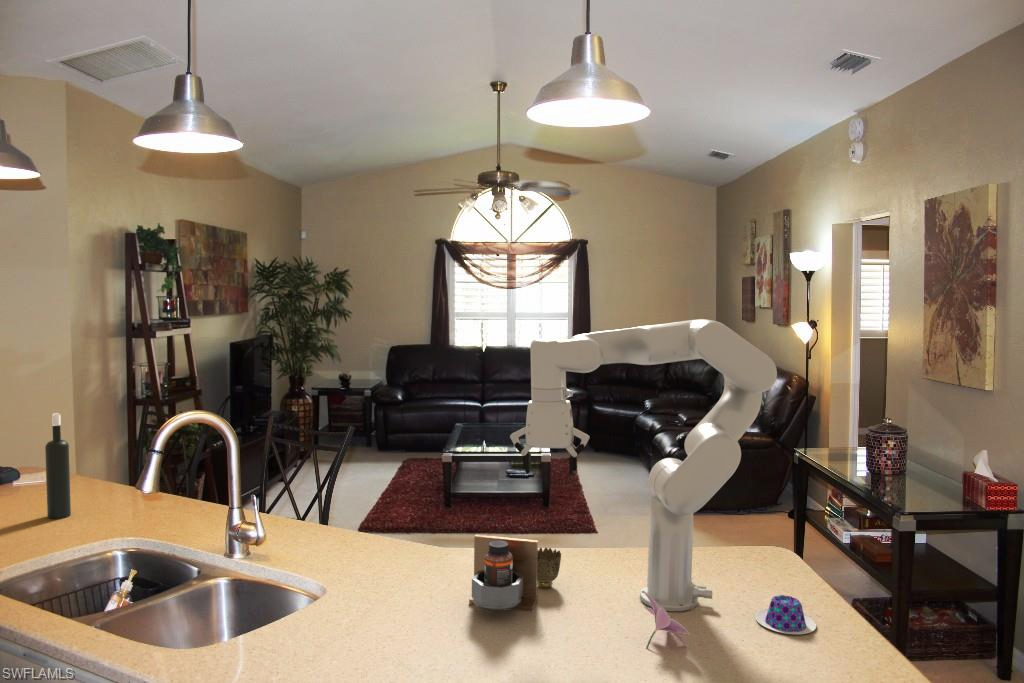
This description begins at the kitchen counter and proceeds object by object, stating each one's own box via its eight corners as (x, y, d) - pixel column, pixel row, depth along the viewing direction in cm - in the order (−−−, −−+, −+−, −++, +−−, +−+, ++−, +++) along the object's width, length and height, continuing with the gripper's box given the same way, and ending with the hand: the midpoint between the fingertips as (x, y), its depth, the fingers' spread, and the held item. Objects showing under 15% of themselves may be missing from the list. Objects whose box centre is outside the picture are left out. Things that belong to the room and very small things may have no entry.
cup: (558, 594, 169) (558, 559, 169) (525, 591, 171) (526, 557, 170) (562, 581, 177) (563, 548, 176) (531, 578, 178) (532, 545, 177)
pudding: (742, 620, 159) (744, 596, 158) (777, 607, 165) (779, 584, 165) (793, 643, 149) (794, 617, 148) (828, 628, 156) (829, 603, 155)
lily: (689, 670, 139) (707, 619, 142) (631, 642, 140) (650, 593, 142) (672, 658, 151) (689, 612, 153) (618, 633, 152) (636, 587, 154)
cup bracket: (537, 600, 166) (539, 538, 165) (524, 628, 152) (525, 561, 151) (476, 593, 169) (477, 532, 168) (458, 620, 155) (458, 554, 154)
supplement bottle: (518, 595, 159) (519, 543, 158) (498, 604, 154) (499, 550, 153) (497, 587, 163) (498, 536, 162) (478, 595, 158) (478, 543, 157)
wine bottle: (42, 518, 216) (39, 414, 213) (58, 512, 221) (54, 411, 219) (60, 519, 215) (57, 415, 212) (75, 513, 220) (72, 412, 218)
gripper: (590, 393, 165) (591, 470, 166) (513, 392, 168) (514, 467, 170) (586, 398, 157) (587, 478, 159) (505, 397, 161) (507, 476, 162)
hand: (550, 473), depth 164 cm, fingers open, 9 cm apart
